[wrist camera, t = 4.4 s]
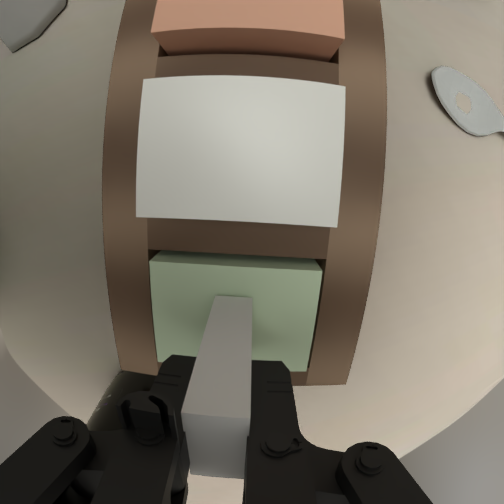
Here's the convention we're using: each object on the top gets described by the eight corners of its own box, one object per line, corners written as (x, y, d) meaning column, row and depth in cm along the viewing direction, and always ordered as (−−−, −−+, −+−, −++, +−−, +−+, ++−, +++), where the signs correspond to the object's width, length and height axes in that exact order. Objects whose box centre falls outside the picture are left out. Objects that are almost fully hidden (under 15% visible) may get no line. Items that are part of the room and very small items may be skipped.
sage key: (173, 239, 16) (149, 260, 12) (306, 246, 16) (322, 271, 12) (176, 322, 17) (157, 361, 13) (296, 330, 17) (306, 371, 13)
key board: (158, -7, 12) (138, -40, 8) (353, 1, 12) (374, -31, 8) (143, 333, 18) (121, 369, 14) (330, 345, 18) (345, 384, 14)
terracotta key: (187, -11, 11) (171, -52, 7) (321, -6, 11) (338, -47, 7) (176, 65, 12) (150, 32, 8) (321, 71, 12) (344, 39, 8)
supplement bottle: (101, 361, 19) (21, 483, 7) (189, 365, 19) (142, 526, 7) (127, 424, 21) (81, 536, 9) (205, 431, 20) (183, 563, 9)
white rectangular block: (172, 102, 13) (143, 79, 9) (321, 108, 13) (345, 86, 9) (166, 204, 14) (136, 217, 10) (314, 212, 14) (336, 227, 10)
